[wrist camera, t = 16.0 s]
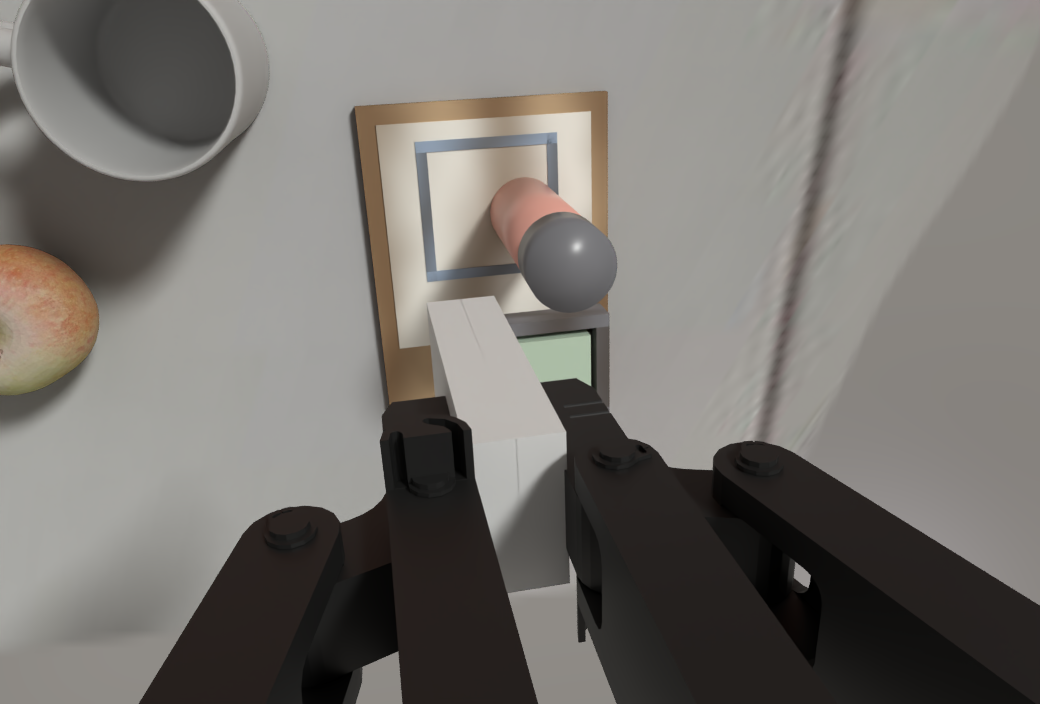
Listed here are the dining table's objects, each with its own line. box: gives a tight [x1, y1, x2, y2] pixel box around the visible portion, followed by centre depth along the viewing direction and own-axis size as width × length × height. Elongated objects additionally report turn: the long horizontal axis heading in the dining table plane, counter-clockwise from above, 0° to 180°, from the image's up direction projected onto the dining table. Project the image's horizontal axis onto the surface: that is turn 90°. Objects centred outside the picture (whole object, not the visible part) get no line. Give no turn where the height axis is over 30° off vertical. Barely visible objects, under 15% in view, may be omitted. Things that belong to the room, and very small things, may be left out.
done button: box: [516, 329, 591, 386], centre depth 49 cm, size 5×5×2 cm
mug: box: [0, 0, 269, 182], centre depth 35 cm, size 12×8×11 cm
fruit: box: [0, 244, 99, 395], centre depth 40 cm, size 8×7×8 cm
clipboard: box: [355, 91, 609, 410], centre depth 47 cm, size 14×20×3 cm
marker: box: [490, 177, 617, 313], centre depth 41 cm, size 4×4×12 cm
